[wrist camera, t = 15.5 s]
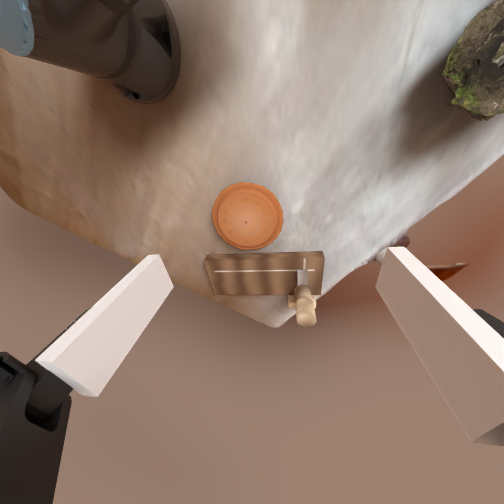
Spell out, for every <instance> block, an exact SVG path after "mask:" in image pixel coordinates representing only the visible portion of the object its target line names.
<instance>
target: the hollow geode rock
mask: <svg viewBox="0 0 504 504" xmlns="http://www.w3.org/2000/svg"><path fill="white" fill-rule="evenodd" d="M441 76H443V77H444V79H445V81H446V83H447V85H448V86H449V89H450V90H451V92H452V93H453V94H454V95H455V96H456V98H455V99H453V100H452V101H450V102H449V103H448V105H447V106H451V105H459V108H458V110H460V109H462V108H466V109H467V111H468V112H469V113H470V114H471V115H472V116H473V117H474V118H476V119H478V120H480V121H482V120H483V119H485V120H486V121H487V120H488V119H490V118H491V117H493V116H494V115H496V114H500V113H504V0H499V1H498V2H496V3H494V4H491V5H489V6H487V7H486V8H484V9H483V10H482V11H480V12H479V13H478V14H477V15H476V16H475V17H474V19H473V20H472V21H471V22H470V23H469V24H468V26H467V27H466V28H465V30H464V34H463V35H462V36H461V38H460V39H459V40H458V42H457V43H456V45H455V46H454V48H453V49H452V50H451V52H450V54H449V56H448V59H447V63H446V67H445V69H444V70H443V72H442V74H441Z"/></svg>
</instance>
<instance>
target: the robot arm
mask: <svg viewBox="0 0 504 504" xmlns="http://www.w3.org/2000/svg"><path fill="white" fill-rule="evenodd" d="M0 47H1V48H3V49H4V50H6V51H8V52H10V53H12V54H14V55H17V56H22V57H24V56H25V57H29V58H32V59H36V60H39V61H43V62H46V63H50V64H53V65H57V66H60V67H64V68H67V69H71V70H74V71H78V72H81V73H85V74H88V75H92V76H95V77H97V78H99V79H100V80H101V81H103V82H104V83H105V84H106V85H108V86H109V87H110V88H112V89H113V90H114V91H115V92H117V93H118V94H120V95H122V96H123V97H125V98H128V99H130V100H133V101H137V102H142V103H155V102H158V101H160V100H162V99H163V98H165V97H166V96H167V95H168V94H169V93H170V92H171V90H172V89H173V87H174V85H175V83H176V80H177V77H178V73H179V68H180V42H179V36H178V31H177V27H176V24H175V20H174V18H173V15H172V13H171V10H170V8H169V6H168V4H167V2H166V0H0ZM173 287H174V286H173V284H172V282H171V280H170V277H169V275H168V273H167V271H166V269H165V266H164V264H163V262H162V260H161V258H160V255H148V256H147V257H146V258H144V259H143V260H142V261H141V262H140V263H139V264H138V265H137V266H136V267H135V268H134V269H133V270H132V271H131V272H129V273H128V274H127V275H126V276H125V277H124V278H123V279H122V280H121V281H120V282H119V283H118V284H117V285H115V286H114V287H113V288H112V289H111V290H110V291H109V292H108V293H107V294H106V295H105V296H103V297H102V298H101V299H100V300H99V301H98V302H97V303H96V304H95V305H94V306H92V307H91V308H89V309H88V310H86V311H85V312H84V313H83V314H82V315H81V316H79V317H78V318H77V319H76V321H75V322H73V323H72V324H71V325H70V326H69V327H68V328H67V330H64V331H63V332H62V333H61V334H60V335H59V336H58V337H57V338H55V339H54V340H53V341H52V342H51V343H50V344H49V345H48V346H47V347H46V348H44V349H43V350H42V351H41V352H40V353H39V354H38V355H37V356H36V357H35V358H34V359H33V360H31V361H30V362H29V363H28V364H26V365H25V364H23V363H22V362H20V361H19V360H17V359H16V358H14V357H13V356H12V355H10V354H9V353H7V352H0V504H52V503H53V498H54V493H55V488H56V482H57V477H58V472H59V465H60V461H61V456H62V450H63V445H64V439H65V434H66V429H67V423H68V418H69V412H70V408H71V402H72V401H71V396H69V393H70V392H71V391H72V390H73V389H74V390H76V391H77V392H78V393H80V394H81V395H84V396H93V397H98V396H99V394H100V392H101V391H102V390H103V388H104V387H105V385H106V384H107V382H108V381H109V380H110V378H111V377H112V375H113V374H114V372H115V371H116V369H117V368H118V366H119V365H120V364H121V362H122V361H123V359H124V358H125V357H126V355H127V354H128V352H129V351H130V349H131V348H132V346H133V345H134V343H135V342H136V341H137V339H138V338H139V336H140V335H141V333H142V332H143V330H144V329H145V328H146V326H147V325H148V323H149V322H150V320H151V319H152V317H153V316H154V315H155V313H156V312H157V310H158V308H159V307H160V306H161V304H162V303H163V302H164V300H165V299H166V297H167V295H168V294H169V293H170V291H171V290H172V288H173ZM375 288H376V289H377V291H378V292H379V294H380V296H381V297H382V299H383V301H384V302H385V304H386V305H387V307H388V309H389V310H390V312H391V313H392V315H393V317H394V319H395V320H396V322H397V323H398V325H399V327H400V328H401V330H402V332H403V333H404V335H405V336H406V338H407V339H408V341H409V343H410V345H411V346H412V348H413V349H414V351H415V353H416V354H417V356H418V357H419V359H420V361H421V362H422V364H423V366H424V367H425V369H426V371H427V372H428V374H429V375H430V377H431V379H432V380H433V382H434V383H435V385H436V387H437V388H438V390H439V392H440V393H441V395H442V397H443V398H444V400H445V401H446V403H447V405H448V406H449V408H450V409H451V411H452V413H453V414H454V416H455V418H456V419H457V421H458V423H459V424H460V426H461V428H462V429H463V431H464V432H465V434H466V436H467V437H468V439H469V441H470V442H473V443H481V444H489V445H498V446H503V445H504V323H503V322H502V321H500V320H499V319H497V318H495V317H493V316H492V315H490V314H488V313H487V312H485V311H483V310H480V309H471V308H470V307H469V306H468V305H467V304H466V303H464V301H462V300H461V299H460V298H459V297H458V296H457V295H456V294H455V293H454V292H453V291H451V290H450V289H449V288H448V287H447V286H446V285H445V284H444V283H443V282H442V281H441V280H440V279H439V278H437V277H436V276H435V275H434V274H433V273H432V272H431V271H430V270H429V269H428V268H427V267H426V266H424V265H423V264H422V263H421V262H420V261H419V260H418V259H417V258H416V257H415V256H414V255H412V254H411V253H410V252H409V251H408V250H407V249H406V248H405V247H387V250H386V254H385V257H384V260H383V263H382V266H381V270H380V273H379V276H378V280H377V283H376V286H375Z"/></svg>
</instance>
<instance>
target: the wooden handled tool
mask: <svg viewBox="0 0 504 504" xmlns="http://www.w3.org/2000/svg"><path fill="white" fill-rule="evenodd" d="M294 292H295V295H288V303H289V308H296V315H297V322H298V324H300V325H301V326H305V327H309V326H312V325H314V324H315V323H316V315H315V310H314V308H316V300H315V295H311V290H310V288H309V287H308V270H297V287H296V288H295V290H294Z"/></svg>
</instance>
